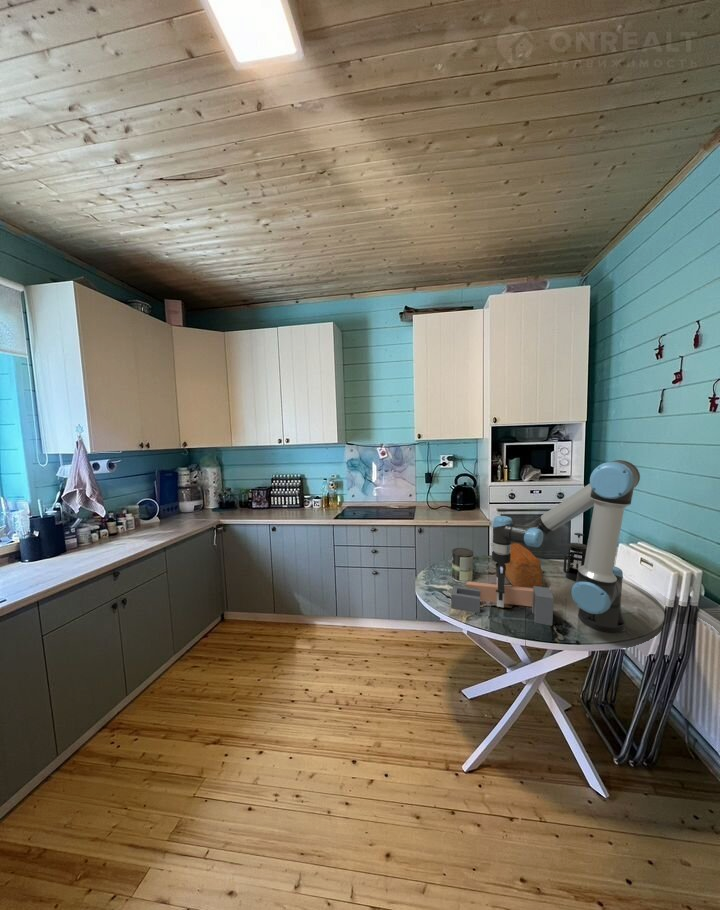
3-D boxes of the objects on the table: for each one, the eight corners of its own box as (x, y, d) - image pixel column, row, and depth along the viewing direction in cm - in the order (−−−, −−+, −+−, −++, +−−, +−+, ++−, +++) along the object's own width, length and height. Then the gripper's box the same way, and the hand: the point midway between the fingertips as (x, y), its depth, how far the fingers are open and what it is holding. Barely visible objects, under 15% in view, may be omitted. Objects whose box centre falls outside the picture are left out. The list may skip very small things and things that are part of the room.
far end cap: (480, 602, 153) (480, 589, 152) (479, 613, 144) (480, 599, 144) (452, 598, 157) (453, 585, 156) (450, 608, 148) (451, 594, 148)
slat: (533, 603, 153) (534, 588, 152) (534, 607, 150) (535, 591, 149) (466, 596, 159) (466, 581, 159) (466, 599, 156) (466, 584, 156)
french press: (581, 574, 182) (583, 530, 180) (593, 582, 173) (596, 536, 171) (558, 574, 182) (560, 530, 180) (569, 582, 173) (572, 536, 171)
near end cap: (548, 613, 144) (549, 588, 143) (552, 625, 136) (553, 598, 135) (532, 611, 146) (533, 585, 145) (534, 622, 138) (536, 595, 137)
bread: (522, 567, 191) (523, 540, 190) (544, 590, 165) (546, 559, 163) (495, 566, 192) (496, 539, 191) (514, 589, 165) (515, 558, 164)
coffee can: (448, 580, 175) (449, 552, 174) (454, 572, 184) (455, 546, 183) (469, 584, 170) (470, 556, 169) (474, 577, 179) (475, 550, 178)
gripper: (491, 541, 165) (490, 585, 167) (492, 561, 142) (490, 611, 144) (508, 543, 163) (507, 587, 165) (512, 563, 140) (510, 614, 141)
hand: (499, 599), depth 154 cm, fingers open, 13 cm apart
